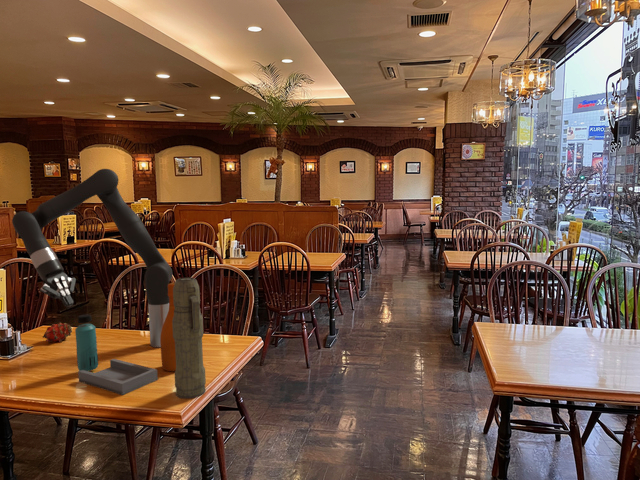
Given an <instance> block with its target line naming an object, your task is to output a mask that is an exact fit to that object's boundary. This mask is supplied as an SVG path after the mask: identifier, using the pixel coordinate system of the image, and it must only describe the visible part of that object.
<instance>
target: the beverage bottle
mask: <svg viewBox="0 0 640 480" xmlns="http://www.w3.org/2000/svg"><path fill="white" fill-rule="evenodd" d="M90 322H92V315H91V314H82V315H78V316H77V323H78V324H79V325H78V326H77V327H76V328H75V330H74V331H75V343H76V359H77V360H76V362H77V364H76V365H77V370H78V371H81V370H85V371H89V372H91V371H93V370H96V369H98V367H99V355H98V354H99V353H98V346H97V345H98V342H97V333H96V330H97V329H96V326H95V325H94V324H92V323H90Z"/></svg>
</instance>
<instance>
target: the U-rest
mask: <svg viewBox="0 0 640 480" xmlns="http://www.w3.org/2000/svg"><path fill="white" fill-rule="evenodd" d="M109 363H110V367H108V368H105V369H101V370H99V371H95V372H91V371H85V370H81V371H79V370H78V374H77V375H78V382H79V383H81V384H85V385H89V386H92V387H95V388H98V389H102V390H105V391H108V392H111V393H114V394H118V395H120V396H124V395H126V393H127V394H128V393H131V392H134V391H135V390H138V389H140V388H142V387H145V386H147V385H149V384H151V383H154V382H156V381H158V380H159V379H158V369H156V368H153V367H148V366H144V365H141V364H136V363H132V362H128V361H124V360H120V359H116V358H112V359H110V360H109Z"/></svg>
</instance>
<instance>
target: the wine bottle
mask: <svg viewBox="0 0 640 480" xmlns="http://www.w3.org/2000/svg"><path fill="white" fill-rule="evenodd" d="M174 284H175V282H169V284H168V296H169V310H168V314H167V317H166V319H165V322H164V324H163V327H162V331H161V336H160V344H161V347H160V356H161V357H160V358H161V367H162V368H163V370H165V371H166V372H175V371H176V354H175V340H174V338H173V326H172V320H173V316H174V310H175V308H174V302H173V288H174Z"/></svg>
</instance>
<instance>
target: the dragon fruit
mask: <svg viewBox="0 0 640 480" xmlns="http://www.w3.org/2000/svg"><path fill="white" fill-rule="evenodd" d="M72 329H73V328H72V325H70V324H69V323H68V322H67V323H66V322H64V323H62V322H61V321H59V322H58V323H56V324H55V323H52V324H51V325H50V326H48V327H47V328H46V331H45V332H44V334H43V336H42V338H43V339H46V340H45V341H46V342H48V343H56V342H57V341H58V342H59V343H60V342H62V341H64V340H66V339H67V338H68V337H70V336H72V335H73V334H71V333H73V330H72Z"/></svg>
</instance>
